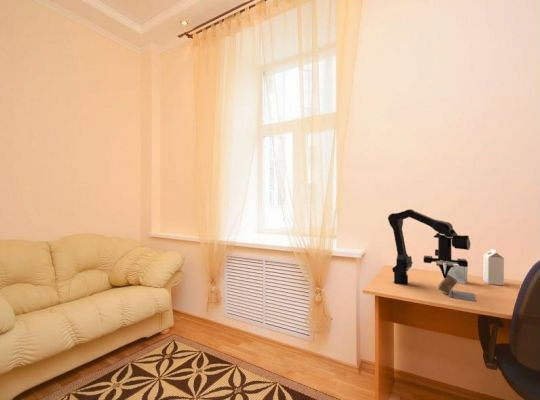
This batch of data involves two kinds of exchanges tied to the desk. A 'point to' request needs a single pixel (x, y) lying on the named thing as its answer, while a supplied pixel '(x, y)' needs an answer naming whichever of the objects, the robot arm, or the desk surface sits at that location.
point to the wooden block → (447, 284)
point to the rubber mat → (464, 295)
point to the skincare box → (458, 273)
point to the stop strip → (450, 294)
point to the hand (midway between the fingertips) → (444, 277)
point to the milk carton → (493, 268)
